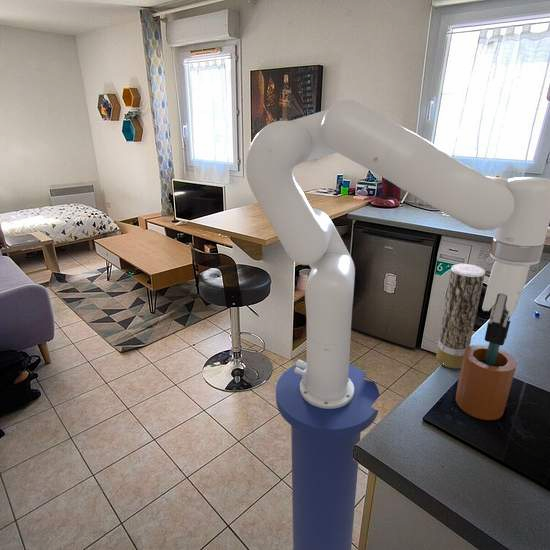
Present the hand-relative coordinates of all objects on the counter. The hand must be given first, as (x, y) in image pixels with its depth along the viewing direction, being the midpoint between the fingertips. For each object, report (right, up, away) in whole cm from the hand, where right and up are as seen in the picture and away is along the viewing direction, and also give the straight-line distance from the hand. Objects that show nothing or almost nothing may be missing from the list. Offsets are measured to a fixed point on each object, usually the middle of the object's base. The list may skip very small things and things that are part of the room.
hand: (495, 339), depth 71 cm
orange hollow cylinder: (0, -15, +6) cm, 16 cm away
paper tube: (+1, -9, +20) cm, 22 cm away
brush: (0, -11, +4) cm, 12 cm away
